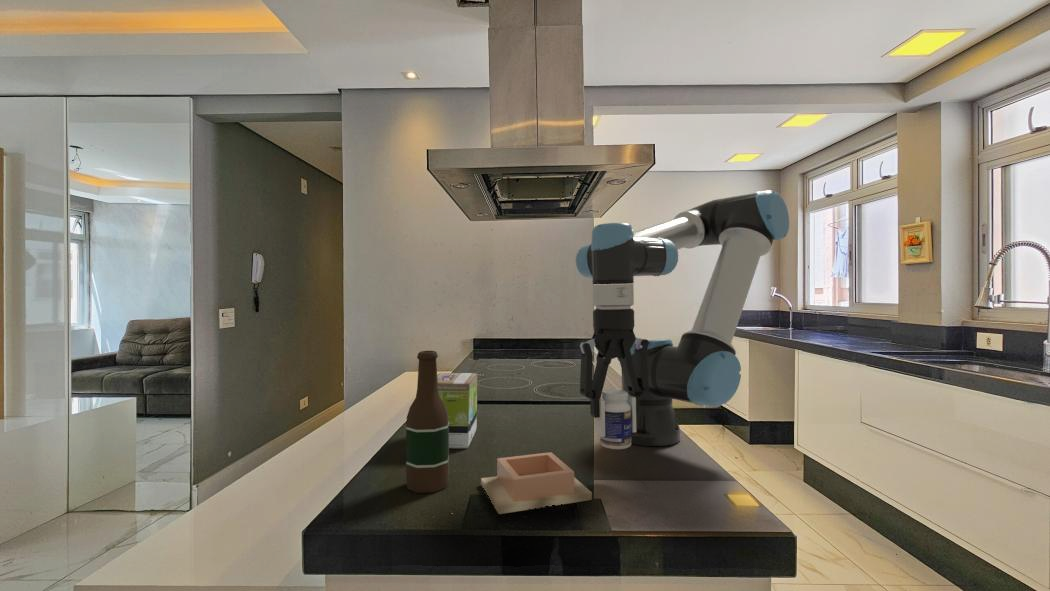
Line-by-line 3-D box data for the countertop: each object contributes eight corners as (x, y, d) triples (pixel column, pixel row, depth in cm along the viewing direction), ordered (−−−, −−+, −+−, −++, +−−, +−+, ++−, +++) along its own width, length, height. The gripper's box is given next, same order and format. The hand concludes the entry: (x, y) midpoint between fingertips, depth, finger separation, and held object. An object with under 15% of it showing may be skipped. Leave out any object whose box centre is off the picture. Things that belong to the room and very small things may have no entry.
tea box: (470, 449, 105) (469, 382, 105) (424, 449, 105) (424, 382, 105) (477, 429, 120) (477, 371, 120) (438, 429, 120) (437, 371, 120)
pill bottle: (631, 450, 85) (630, 395, 85) (599, 449, 86) (598, 394, 86) (631, 440, 91) (630, 388, 91) (600, 439, 92) (599, 388, 92)
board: (563, 473, 90) (563, 467, 90) (591, 499, 79) (591, 492, 79) (481, 484, 85) (481, 478, 85) (498, 514, 74) (498, 506, 74)
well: (551, 470, 89) (551, 452, 89) (574, 492, 79) (574, 471, 79) (497, 477, 85) (497, 458, 85) (514, 501, 76) (514, 479, 76)
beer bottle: (411, 497, 80) (411, 355, 80) (401, 481, 87) (400, 350, 87) (456, 488, 84) (455, 352, 84) (442, 474, 91) (441, 348, 91)
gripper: (575, 310, 82) (578, 444, 82) (668, 306, 88) (670, 432, 88) (558, 308, 89) (561, 432, 89) (645, 305, 95) (647, 421, 95)
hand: (615, 432), depth 88 cm, fingers closed on pill bottle, 6 cm apart
